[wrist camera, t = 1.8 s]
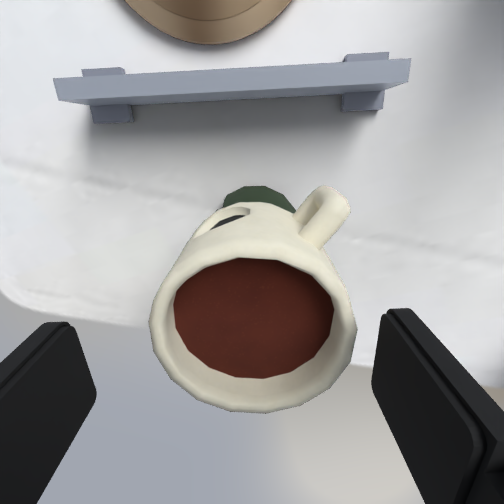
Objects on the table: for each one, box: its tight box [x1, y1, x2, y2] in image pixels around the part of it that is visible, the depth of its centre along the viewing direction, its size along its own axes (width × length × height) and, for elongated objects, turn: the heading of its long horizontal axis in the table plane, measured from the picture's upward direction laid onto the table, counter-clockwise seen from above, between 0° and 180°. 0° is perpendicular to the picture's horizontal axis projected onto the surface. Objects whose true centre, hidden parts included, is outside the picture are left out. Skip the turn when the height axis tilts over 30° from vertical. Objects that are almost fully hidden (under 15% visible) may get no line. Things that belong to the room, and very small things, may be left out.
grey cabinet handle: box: [53, 52, 411, 124], centre depth 17 cm, size 18×3×4 cm, turn 92°
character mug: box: [149, 186, 358, 414], centre depth 16 cm, size 11×7×13 cm, turn 143°
